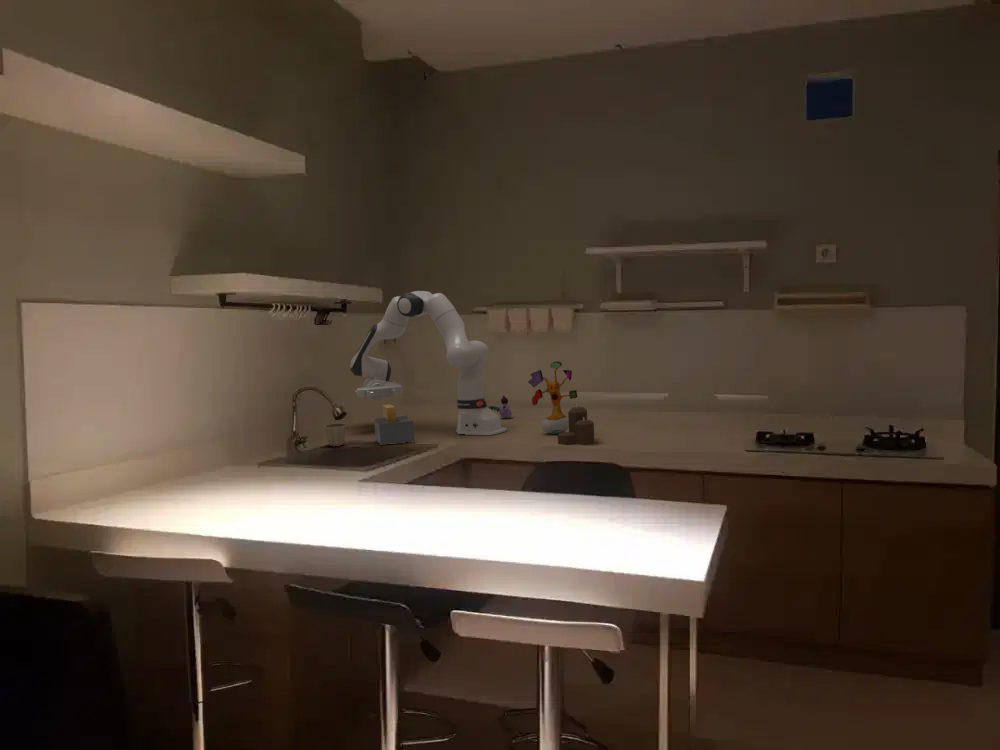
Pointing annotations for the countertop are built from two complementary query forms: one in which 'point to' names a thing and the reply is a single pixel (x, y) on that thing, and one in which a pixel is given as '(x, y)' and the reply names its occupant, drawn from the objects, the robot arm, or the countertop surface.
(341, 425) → the flower pot
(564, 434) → the candle
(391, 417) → the tan rectangular block
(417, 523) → the countertop surface
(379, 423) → the block
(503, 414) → the toy
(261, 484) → the countertop surface
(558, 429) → the decorative sculpture
